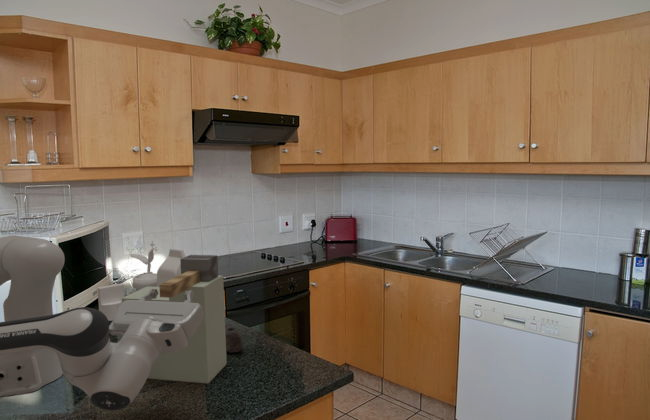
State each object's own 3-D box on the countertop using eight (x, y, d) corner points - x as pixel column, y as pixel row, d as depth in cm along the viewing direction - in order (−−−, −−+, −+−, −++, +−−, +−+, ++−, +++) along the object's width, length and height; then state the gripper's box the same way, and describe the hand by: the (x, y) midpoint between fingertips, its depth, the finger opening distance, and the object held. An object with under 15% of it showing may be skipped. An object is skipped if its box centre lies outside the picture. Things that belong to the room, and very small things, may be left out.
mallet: (181, 298, 110) (179, 273, 110) (150, 296, 112) (149, 272, 111) (218, 276, 131) (217, 255, 130) (191, 275, 133) (190, 254, 132)
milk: (156, 319, 174) (153, 250, 171) (181, 311, 183) (178, 245, 181) (178, 325, 167) (174, 254, 165) (202, 316, 177) (199, 248, 174)
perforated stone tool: (219, 340, 153) (218, 319, 152) (235, 337, 155) (234, 317, 154) (225, 357, 139) (224, 335, 138) (243, 355, 141) (242, 332, 140)
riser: (208, 383, 123) (204, 287, 120) (126, 376, 128) (120, 283, 125) (226, 364, 134) (223, 275, 132) (151, 358, 139) (146, 273, 136)
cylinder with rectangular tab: (103, 322, 172) (101, 290, 170) (96, 316, 179) (94, 285, 177) (128, 317, 177) (126, 286, 176) (121, 311, 184) (119, 281, 183)
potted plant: (167, 295, 206) (164, 239, 203) (155, 303, 194) (151, 243, 192) (140, 294, 207) (136, 239, 205) (126, 302, 196) (122, 243, 193)
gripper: (109, 343, 107) (138, 298, 118) (192, 349, 103) (214, 302, 114) (98, 325, 103) (129, 280, 114) (184, 330, 99) (207, 283, 110)
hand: (172, 291), depth 114 cm, fingers open, 8 cm apart
